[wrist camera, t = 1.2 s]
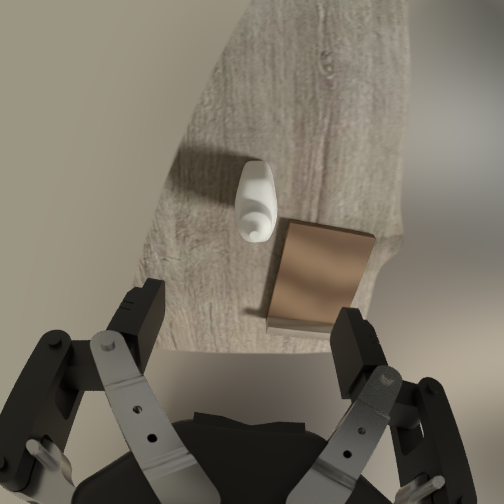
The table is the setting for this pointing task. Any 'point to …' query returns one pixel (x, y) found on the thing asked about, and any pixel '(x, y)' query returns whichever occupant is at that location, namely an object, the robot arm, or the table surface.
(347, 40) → the table surface
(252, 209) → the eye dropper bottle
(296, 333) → the walnut shelf board
